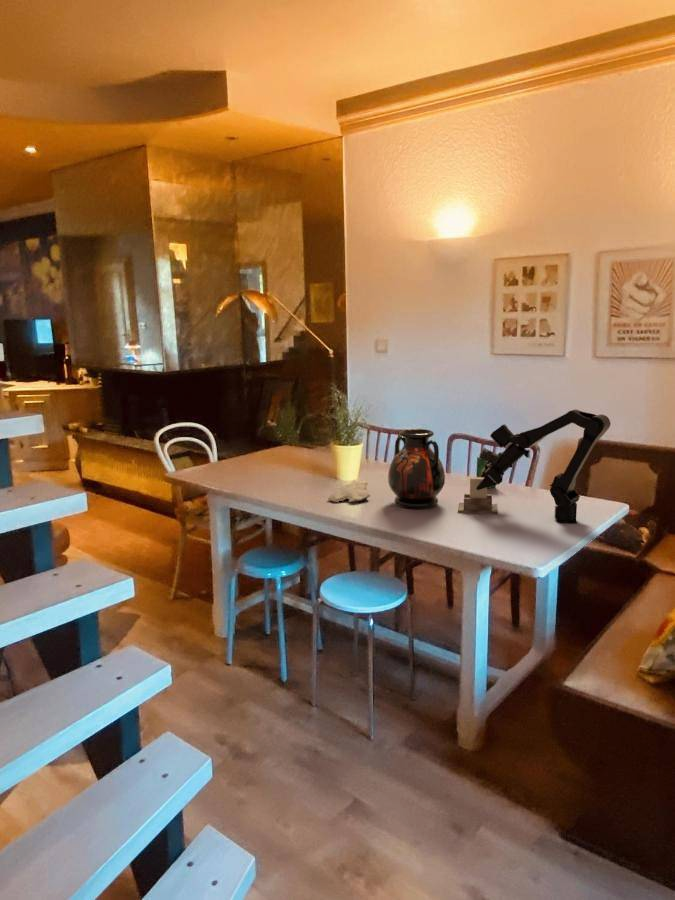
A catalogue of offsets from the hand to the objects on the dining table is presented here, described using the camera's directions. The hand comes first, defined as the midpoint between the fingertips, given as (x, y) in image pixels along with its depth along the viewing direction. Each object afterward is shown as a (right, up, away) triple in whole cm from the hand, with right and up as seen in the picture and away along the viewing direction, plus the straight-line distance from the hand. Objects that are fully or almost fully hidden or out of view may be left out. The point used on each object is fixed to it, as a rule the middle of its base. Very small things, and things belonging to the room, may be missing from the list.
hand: (477, 485), depth 243 cm
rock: (-44, -6, +21) cm, 49 cm away
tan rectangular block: (+1, -8, +2) cm, 8 cm away
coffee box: (+10, -3, +31) cm, 32 cm away
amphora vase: (-21, -8, +11) cm, 25 cm away
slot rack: (+1, -9, +2) cm, 9 cm away
